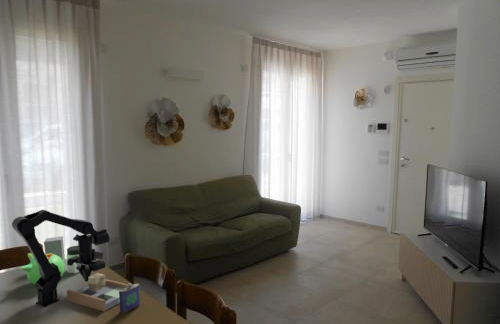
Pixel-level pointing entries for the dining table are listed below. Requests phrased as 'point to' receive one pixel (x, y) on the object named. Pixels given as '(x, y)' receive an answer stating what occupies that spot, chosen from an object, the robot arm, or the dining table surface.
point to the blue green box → (129, 298)
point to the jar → (71, 253)
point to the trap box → (98, 295)
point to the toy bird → (33, 267)
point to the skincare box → (55, 247)
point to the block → (96, 281)
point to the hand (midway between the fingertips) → (86, 281)
